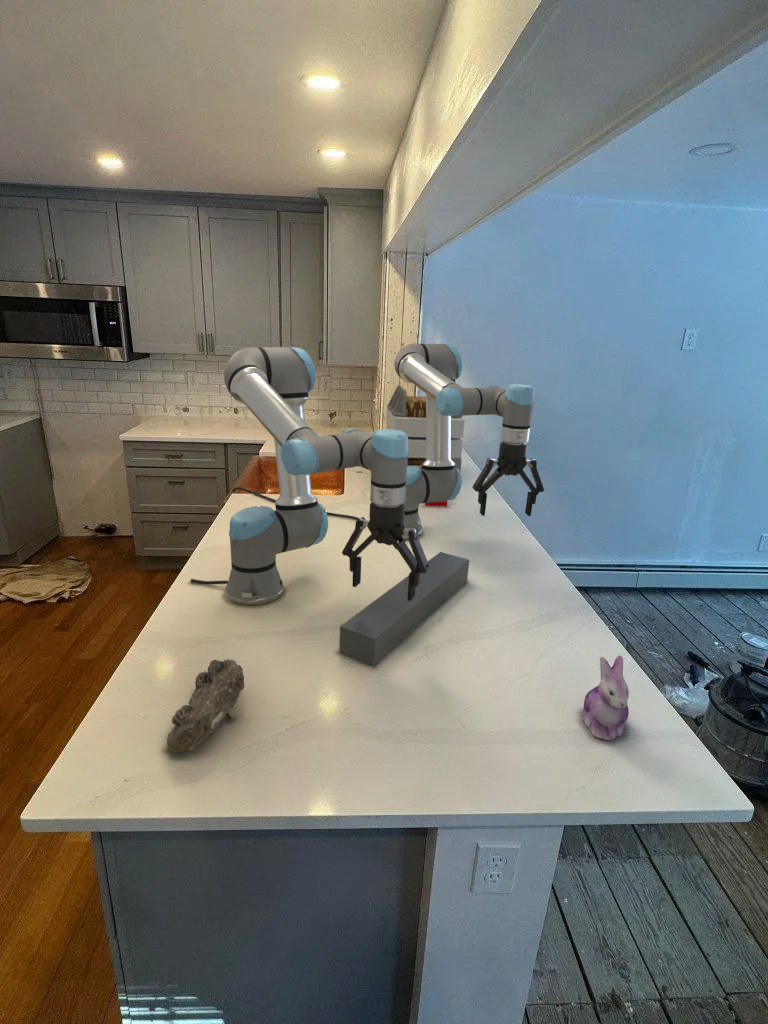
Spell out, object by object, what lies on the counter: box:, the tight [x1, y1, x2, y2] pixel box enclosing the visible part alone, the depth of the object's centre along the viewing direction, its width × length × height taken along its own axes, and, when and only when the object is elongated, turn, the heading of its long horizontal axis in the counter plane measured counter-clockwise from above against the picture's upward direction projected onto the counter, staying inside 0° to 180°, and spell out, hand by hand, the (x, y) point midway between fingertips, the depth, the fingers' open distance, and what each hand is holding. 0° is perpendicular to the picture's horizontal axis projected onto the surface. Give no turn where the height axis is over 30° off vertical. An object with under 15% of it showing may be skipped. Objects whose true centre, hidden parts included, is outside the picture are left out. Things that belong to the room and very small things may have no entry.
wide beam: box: [338, 551, 470, 667], centre depth 147 cm, size 52×9×7 cm, turn 149°
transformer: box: [385, 384, 465, 475], centre depth 268 cm, size 34×33×41 cm
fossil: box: [166, 658, 245, 754], centre depth 106 cm, size 22×10×15 cm
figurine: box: [581, 654, 630, 741], centre depth 108 cm, size 9×10×15 cm
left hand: (383, 591), depth 129 cm, fingers open, 13 cm apart
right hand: (505, 514), depth 164 cm, fingers open, 13 cm apart
